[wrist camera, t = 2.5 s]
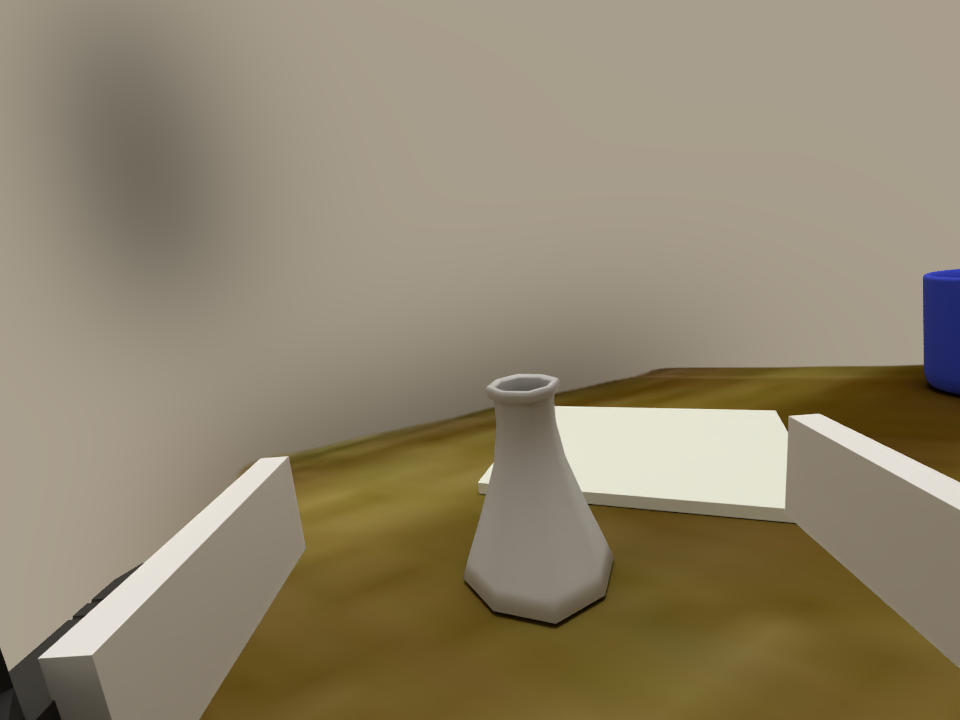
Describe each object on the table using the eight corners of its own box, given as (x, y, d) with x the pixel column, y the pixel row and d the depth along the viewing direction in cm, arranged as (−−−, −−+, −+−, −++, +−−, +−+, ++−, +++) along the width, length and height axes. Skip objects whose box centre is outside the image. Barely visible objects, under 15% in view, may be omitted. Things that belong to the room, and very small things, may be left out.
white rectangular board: (775, 419, 40) (775, 410, 40) (831, 526, 26) (832, 512, 26) (538, 413, 48) (537, 405, 48) (478, 493, 33) (477, 482, 33)
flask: (523, 519, 30) (508, 358, 28) (638, 559, 25) (631, 369, 23) (438, 586, 25) (411, 395, 22) (563, 653, 20) (544, 418, 18)
